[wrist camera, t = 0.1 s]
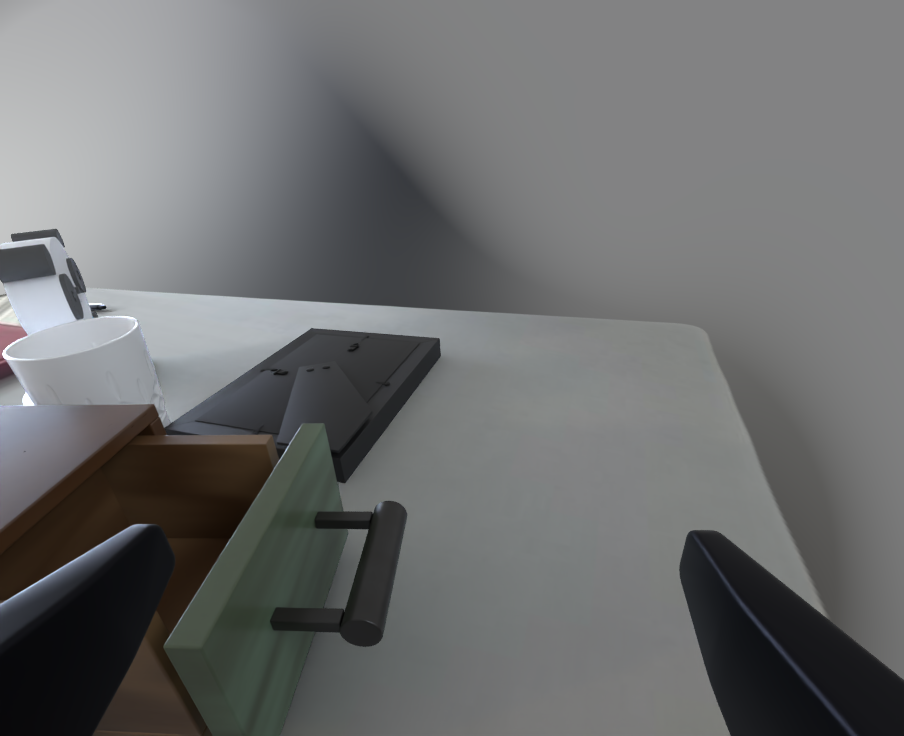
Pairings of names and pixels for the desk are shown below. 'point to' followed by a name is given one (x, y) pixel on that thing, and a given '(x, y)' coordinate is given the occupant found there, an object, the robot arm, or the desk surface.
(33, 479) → the cabinet
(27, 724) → the robot arm
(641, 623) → the desk surface
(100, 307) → the pen
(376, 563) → the drawer
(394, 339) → the picture frame
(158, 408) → the white cup
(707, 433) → the desk surface
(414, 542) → the desk surface
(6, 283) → the panda figurine
